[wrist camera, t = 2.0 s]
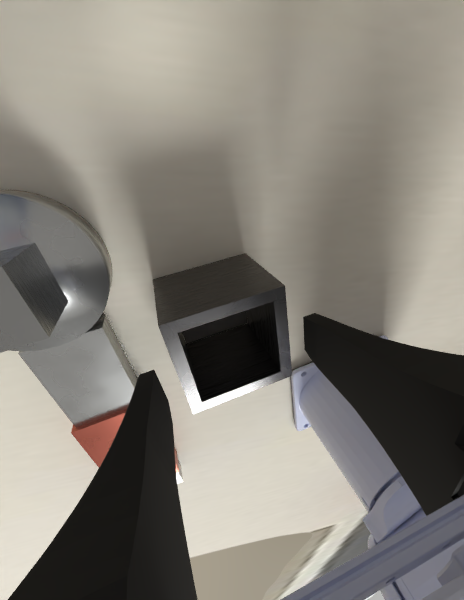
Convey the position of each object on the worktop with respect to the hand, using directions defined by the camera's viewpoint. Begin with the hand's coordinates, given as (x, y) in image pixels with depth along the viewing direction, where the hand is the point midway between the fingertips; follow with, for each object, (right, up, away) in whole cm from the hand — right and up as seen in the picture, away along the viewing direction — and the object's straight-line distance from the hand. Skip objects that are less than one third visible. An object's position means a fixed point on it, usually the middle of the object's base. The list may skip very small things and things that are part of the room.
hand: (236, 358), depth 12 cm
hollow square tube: (-2, +2, +5) cm, 5 cm away
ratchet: (-9, -3, +5) cm, 10 cm away
